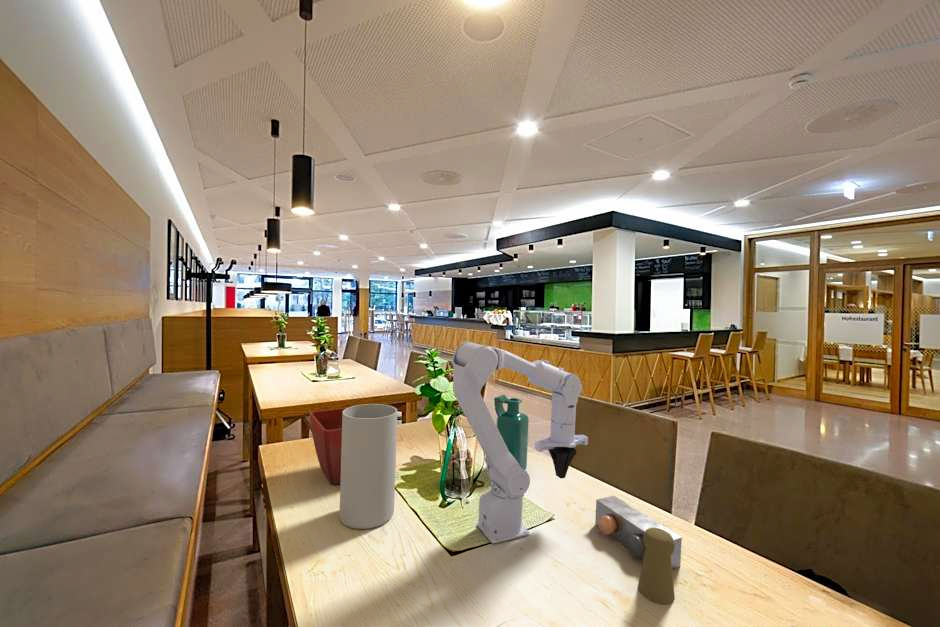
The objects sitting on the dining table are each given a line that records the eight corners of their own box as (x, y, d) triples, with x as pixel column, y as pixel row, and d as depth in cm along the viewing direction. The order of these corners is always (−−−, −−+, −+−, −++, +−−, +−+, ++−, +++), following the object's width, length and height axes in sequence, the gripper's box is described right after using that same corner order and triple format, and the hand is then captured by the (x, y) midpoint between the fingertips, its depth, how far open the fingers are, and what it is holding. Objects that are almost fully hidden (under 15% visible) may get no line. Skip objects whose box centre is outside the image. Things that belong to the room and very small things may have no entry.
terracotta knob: (609, 537, 85) (610, 521, 85) (597, 528, 88) (598, 513, 88) (633, 531, 88) (633, 515, 88) (620, 522, 91) (621, 507, 91)
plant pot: (391, 478, 112) (393, 420, 111) (323, 494, 101) (324, 430, 101) (368, 455, 128) (370, 404, 127) (307, 467, 117) (308, 412, 117)
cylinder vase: (404, 509, 95) (407, 408, 95) (371, 536, 84) (374, 422, 83) (363, 497, 100) (366, 401, 100) (327, 521, 89) (330, 413, 88)
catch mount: (660, 573, 76) (662, 543, 75) (595, 524, 92) (596, 499, 92) (680, 566, 78) (681, 537, 78) (612, 519, 94) (613, 495, 94)
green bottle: (528, 466, 123) (531, 398, 123) (517, 476, 116) (520, 403, 116) (501, 459, 129) (504, 393, 128) (488, 467, 121) (491, 398, 121)
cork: (679, 607, 67) (682, 544, 67) (642, 600, 68) (645, 539, 68) (668, 583, 73) (671, 525, 73) (634, 577, 74) (637, 520, 74)
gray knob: (639, 560, 77) (640, 542, 77) (625, 549, 81) (626, 532, 81) (663, 552, 80) (664, 535, 80) (649, 542, 84) (650, 525, 84)
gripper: (548, 429, 87) (545, 488, 88) (597, 423, 94) (595, 478, 94) (530, 420, 94) (528, 475, 94) (578, 415, 100) (575, 467, 100)
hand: (560, 476), depth 95 cm, fingers closed
